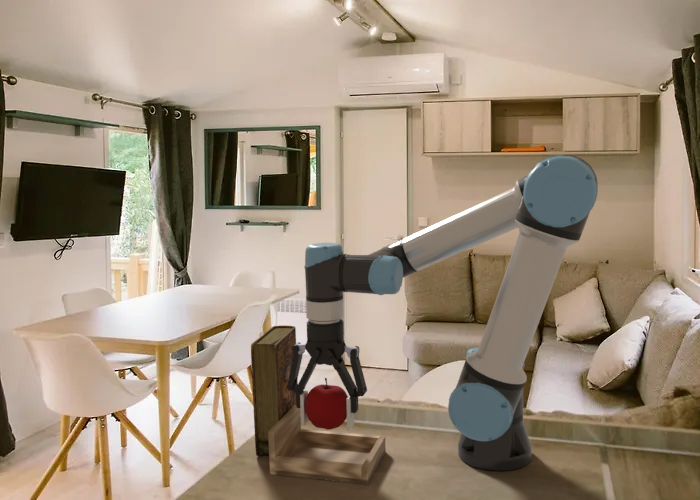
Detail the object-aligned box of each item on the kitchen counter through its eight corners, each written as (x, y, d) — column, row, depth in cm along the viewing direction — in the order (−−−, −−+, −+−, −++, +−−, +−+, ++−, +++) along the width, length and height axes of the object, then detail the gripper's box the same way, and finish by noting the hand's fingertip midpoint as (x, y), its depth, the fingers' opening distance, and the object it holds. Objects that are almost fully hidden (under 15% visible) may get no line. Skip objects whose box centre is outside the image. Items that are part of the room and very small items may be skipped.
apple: (298, 431, 142) (296, 383, 141) (315, 415, 151) (314, 370, 149) (340, 436, 139) (339, 388, 138) (355, 420, 147) (355, 374, 146)
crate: (385, 451, 150) (384, 411, 149) (367, 484, 136) (366, 440, 134) (296, 443, 156) (295, 404, 155) (270, 474, 141) (268, 431, 140)
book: (278, 428, 165) (274, 325, 161) (301, 429, 164) (297, 325, 160) (255, 458, 149) (250, 344, 145) (280, 459, 148) (275, 345, 144)
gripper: (381, 317, 142) (383, 422, 145) (281, 312, 148) (284, 413, 151) (373, 326, 135) (374, 437, 138) (267, 321, 141) (271, 427, 144)
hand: (327, 424), depth 145 cm, fingers closed on apple, 9 cm apart
